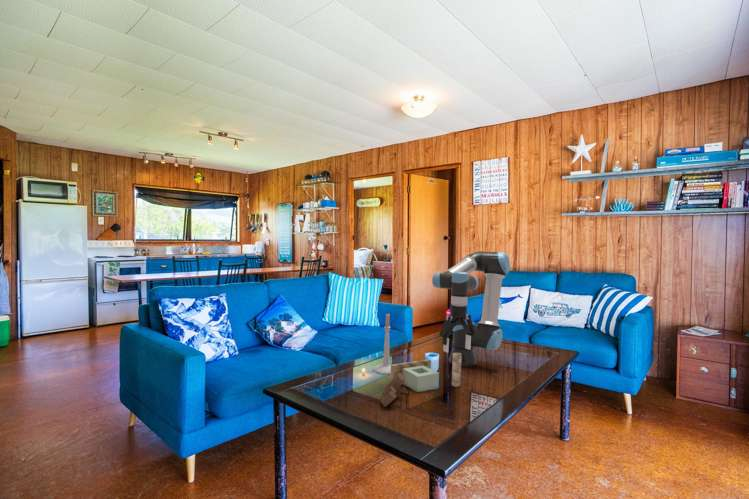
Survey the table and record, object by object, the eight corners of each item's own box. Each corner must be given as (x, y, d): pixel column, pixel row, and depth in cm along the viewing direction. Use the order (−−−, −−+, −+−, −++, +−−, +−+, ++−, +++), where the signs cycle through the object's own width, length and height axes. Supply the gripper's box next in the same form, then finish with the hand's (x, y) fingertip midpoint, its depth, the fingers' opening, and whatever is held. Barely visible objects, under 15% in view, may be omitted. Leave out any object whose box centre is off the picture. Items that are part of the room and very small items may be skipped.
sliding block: (422, 379, 189) (423, 365, 189) (438, 388, 179) (439, 372, 179) (402, 383, 183) (402, 368, 183) (417, 392, 173) (417, 376, 173)
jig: (427, 379, 194) (428, 358, 194) (456, 393, 176) (457, 371, 176) (390, 385, 183) (390, 364, 183) (416, 402, 165) (417, 379, 165)
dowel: (456, 385, 186) (457, 352, 186) (462, 388, 183) (463, 354, 182) (449, 386, 184) (451, 353, 184) (455, 389, 181) (456, 355, 180)
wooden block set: (385, 413, 159) (400, 399, 155) (371, 396, 162) (386, 381, 158) (404, 396, 175) (418, 383, 171) (391, 381, 178) (405, 367, 174)
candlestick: (398, 367, 211) (400, 311, 210) (397, 375, 198) (399, 316, 198) (374, 365, 212) (376, 310, 212) (372, 373, 199) (374, 314, 199)
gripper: (472, 302, 192) (471, 345, 192) (432, 304, 180) (430, 350, 180) (484, 305, 186) (482, 349, 186) (443, 307, 173) (441, 355, 173)
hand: (457, 350), depth 183 cm, fingers open, 13 cm apart
